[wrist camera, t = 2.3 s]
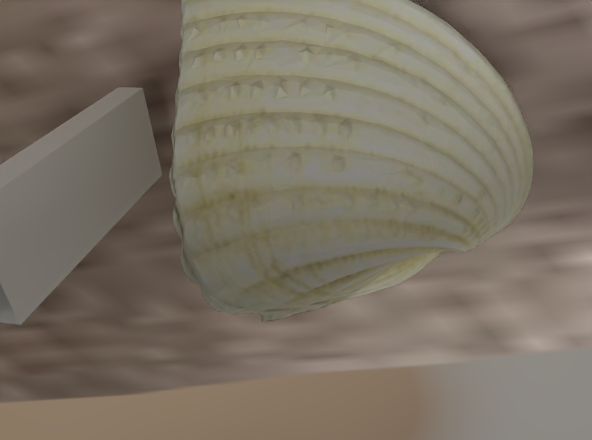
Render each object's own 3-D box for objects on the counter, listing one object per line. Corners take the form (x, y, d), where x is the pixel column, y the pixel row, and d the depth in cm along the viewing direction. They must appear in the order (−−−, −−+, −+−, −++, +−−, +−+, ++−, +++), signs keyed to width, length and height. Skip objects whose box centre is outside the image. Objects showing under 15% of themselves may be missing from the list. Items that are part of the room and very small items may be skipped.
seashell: (375, 350, 17) (119, 340, 13) (355, 121, 20) (143, 62, 16) (626, 299, 10) (254, 251, 7) (540, -32, 13) (252, -192, 10)
